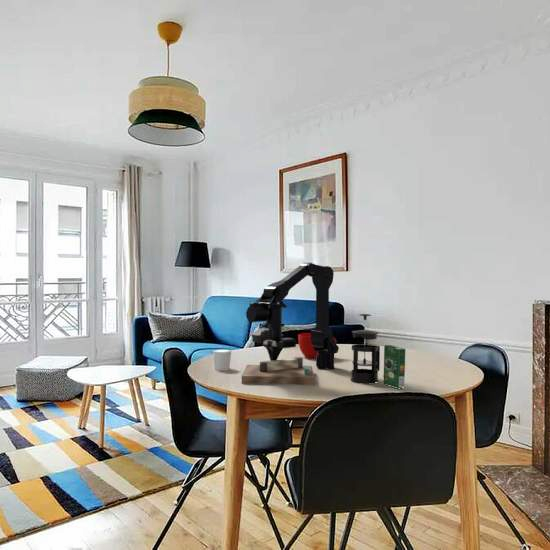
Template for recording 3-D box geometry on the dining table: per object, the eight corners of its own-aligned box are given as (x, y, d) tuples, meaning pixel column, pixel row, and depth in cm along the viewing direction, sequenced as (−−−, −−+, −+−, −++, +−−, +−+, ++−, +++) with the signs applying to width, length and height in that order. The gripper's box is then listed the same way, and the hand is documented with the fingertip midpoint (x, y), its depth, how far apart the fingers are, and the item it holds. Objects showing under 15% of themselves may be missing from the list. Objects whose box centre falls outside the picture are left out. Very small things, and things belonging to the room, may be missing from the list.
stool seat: (311, 372, 174) (311, 360, 174) (314, 385, 154) (314, 371, 154) (247, 371, 175) (247, 359, 175) (241, 383, 155) (241, 369, 155)
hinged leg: (299, 365, 174) (299, 356, 174) (304, 367, 171) (304, 358, 171) (257, 370, 164) (257, 361, 164) (262, 372, 161) (262, 362, 161)
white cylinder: (216, 371, 175) (216, 352, 175) (210, 368, 181) (210, 349, 181) (233, 369, 178) (234, 351, 178) (227, 366, 184) (227, 348, 184)
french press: (362, 385, 154) (363, 315, 155) (343, 380, 162) (344, 313, 162) (387, 381, 161) (388, 314, 161) (368, 376, 169) (368, 312, 169)
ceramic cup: (337, 360, 201) (338, 337, 201) (298, 359, 202) (298, 336, 202) (334, 355, 214) (334, 333, 214) (297, 354, 215) (297, 332, 215)
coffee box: (405, 389, 150) (406, 348, 150) (398, 389, 149) (398, 348, 149) (390, 383, 158) (390, 344, 158) (382, 384, 156) (383, 345, 156)
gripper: (240, 319, 170) (240, 362, 170) (271, 325, 155) (270, 371, 156) (265, 317, 177) (264, 358, 177) (297, 322, 162) (296, 367, 162)
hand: (273, 364), depth 168 cm, fingers closed
